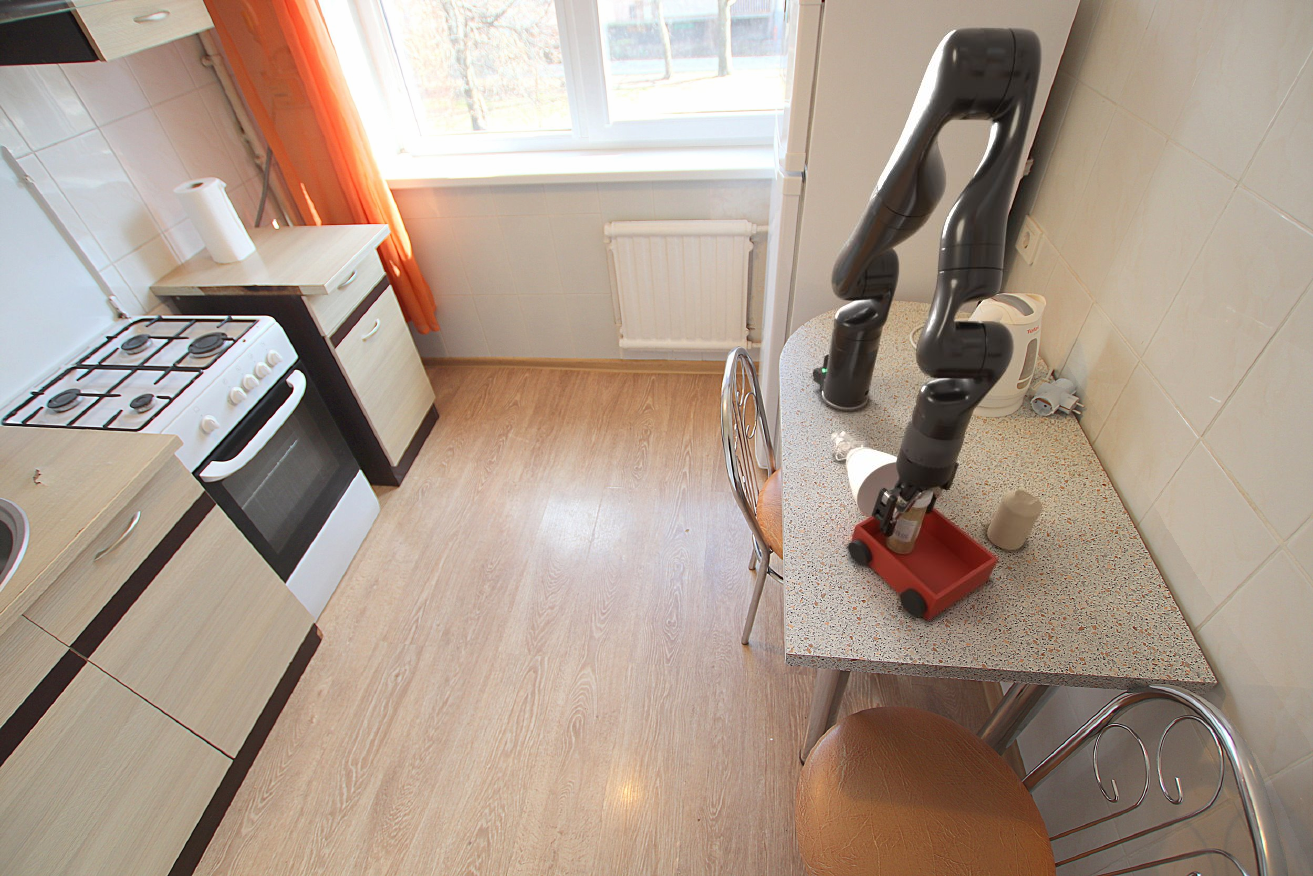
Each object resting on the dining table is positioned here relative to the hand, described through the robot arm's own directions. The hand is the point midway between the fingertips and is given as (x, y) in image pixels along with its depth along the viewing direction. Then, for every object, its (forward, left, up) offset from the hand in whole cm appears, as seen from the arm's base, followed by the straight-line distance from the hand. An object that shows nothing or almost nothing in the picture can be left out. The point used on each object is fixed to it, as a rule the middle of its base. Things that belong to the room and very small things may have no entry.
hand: (904, 521), depth 97 cm
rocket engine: (-13, +7, -7) cm, 16 cm away
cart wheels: (+4, 0, -6) cm, 7 cm away
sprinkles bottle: (0, 0, -6) cm, 6 cm away
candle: (+8, +16, -6) cm, 19 cm away
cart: (+4, 0, -6) cm, 7 cm away
